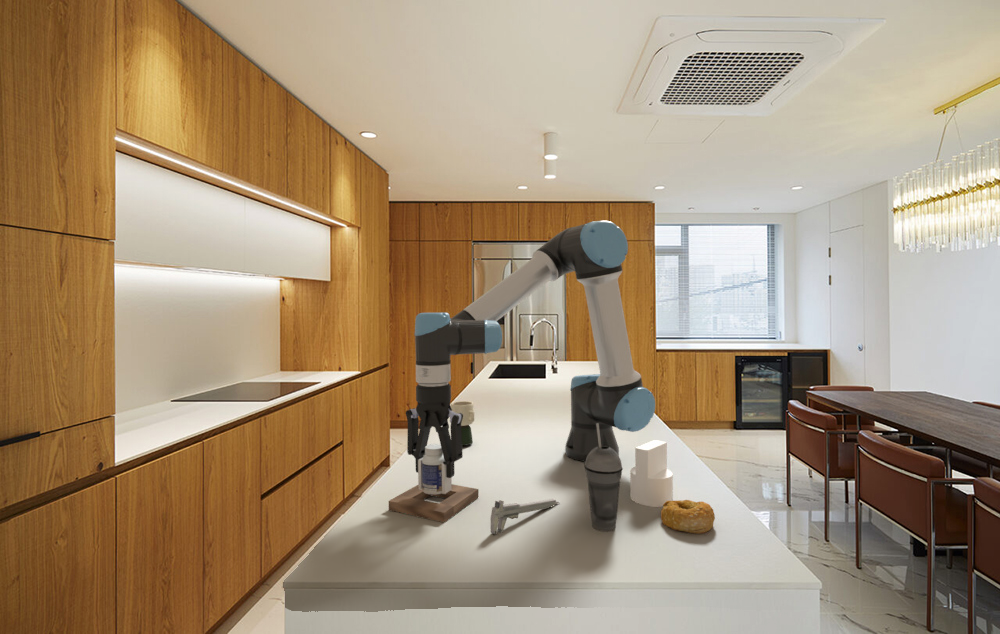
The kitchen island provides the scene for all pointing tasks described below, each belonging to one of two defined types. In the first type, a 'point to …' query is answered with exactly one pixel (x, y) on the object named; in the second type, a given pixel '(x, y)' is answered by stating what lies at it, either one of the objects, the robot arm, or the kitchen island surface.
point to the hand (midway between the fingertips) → (435, 489)
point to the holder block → (433, 503)
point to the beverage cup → (603, 485)
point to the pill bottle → (432, 469)
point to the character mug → (465, 419)
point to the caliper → (514, 512)
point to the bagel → (688, 516)
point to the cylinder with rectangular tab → (651, 475)
